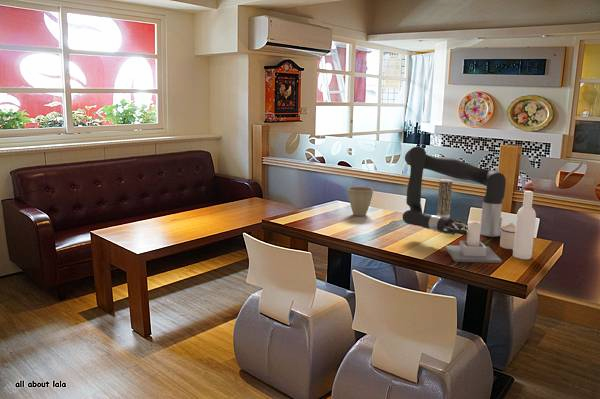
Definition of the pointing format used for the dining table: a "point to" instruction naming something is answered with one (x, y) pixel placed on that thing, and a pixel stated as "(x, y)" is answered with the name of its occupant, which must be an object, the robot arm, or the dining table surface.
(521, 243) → the bottle
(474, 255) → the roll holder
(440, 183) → the paper tube
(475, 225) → the paper roll
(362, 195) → the plant pot
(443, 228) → the robot arm
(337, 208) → the dining table surface
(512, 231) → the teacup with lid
